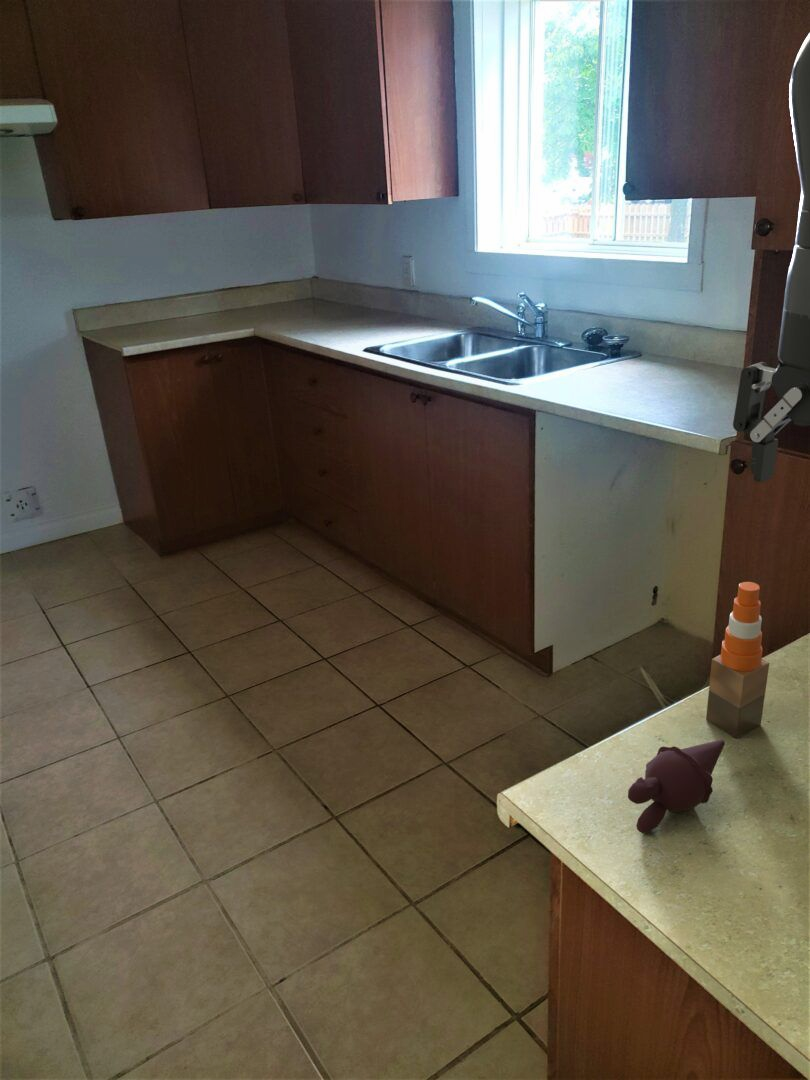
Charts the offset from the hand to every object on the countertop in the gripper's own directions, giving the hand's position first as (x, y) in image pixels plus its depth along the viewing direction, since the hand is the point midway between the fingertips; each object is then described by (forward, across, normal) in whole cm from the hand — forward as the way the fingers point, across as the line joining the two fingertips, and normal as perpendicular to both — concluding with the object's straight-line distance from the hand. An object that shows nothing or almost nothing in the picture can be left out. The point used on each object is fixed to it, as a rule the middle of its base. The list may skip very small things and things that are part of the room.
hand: (807, 491), depth 72 cm
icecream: (+36, +6, +6) cm, 37 cm away
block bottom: (+36, +10, -10) cm, 39 cm away
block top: (+32, +10, -10) cm, 34 cm away
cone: (+27, +10, -10) cm, 30 cm away
